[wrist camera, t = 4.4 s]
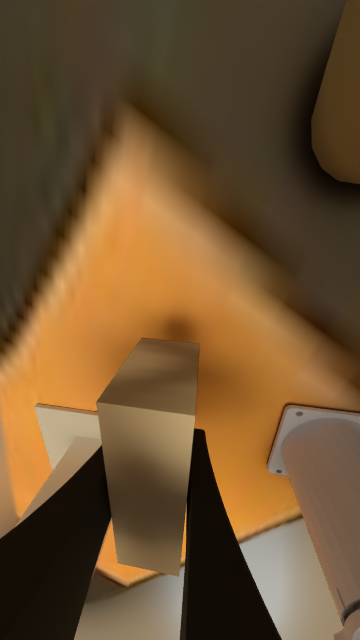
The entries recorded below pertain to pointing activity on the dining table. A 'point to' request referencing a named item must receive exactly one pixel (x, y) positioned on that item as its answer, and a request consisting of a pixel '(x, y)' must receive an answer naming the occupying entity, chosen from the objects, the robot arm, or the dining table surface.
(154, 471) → the wooden bar
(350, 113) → the squeeze bottle
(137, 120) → the dining table surface
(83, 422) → the mat
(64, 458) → the tile
